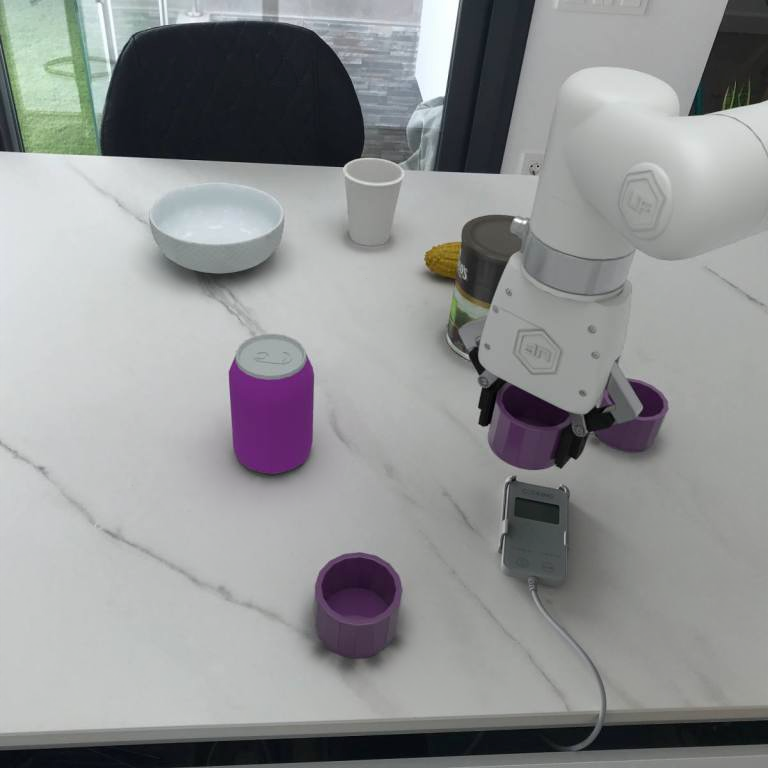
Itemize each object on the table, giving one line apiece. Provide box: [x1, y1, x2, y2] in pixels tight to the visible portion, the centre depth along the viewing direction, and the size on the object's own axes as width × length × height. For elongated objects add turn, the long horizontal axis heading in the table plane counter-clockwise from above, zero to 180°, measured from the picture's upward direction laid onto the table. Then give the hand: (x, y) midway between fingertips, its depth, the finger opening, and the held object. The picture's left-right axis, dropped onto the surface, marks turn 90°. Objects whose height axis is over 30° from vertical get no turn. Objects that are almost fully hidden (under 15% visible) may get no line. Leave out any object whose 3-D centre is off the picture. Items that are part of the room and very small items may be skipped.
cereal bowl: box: [148, 182, 285, 275], centre depth 101 cm, size 17×17×7 cm
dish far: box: [594, 377, 670, 453], centre depth 81 cm, size 7×7×4 cm
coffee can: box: [445, 214, 522, 362], centre depth 89 cm, size 10×10×14 cm
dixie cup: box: [342, 157, 406, 247], centre depth 108 cm, size 8×8×10 cm
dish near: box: [313, 551, 403, 659], centre depth 61 cm, size 7×7×4 cm
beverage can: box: [228, 333, 315, 475], centre depth 72 cm, size 8×8×12 cm
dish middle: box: [487, 382, 571, 471], centre depth 65 cm, size 7×7×4 cm
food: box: [423, 241, 461, 280], centre depth 102 cm, size 21×6×6 cm, turn 92°
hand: (527, 436), depth 66 cm, fingers closed on dish middle, 6 cm apart
